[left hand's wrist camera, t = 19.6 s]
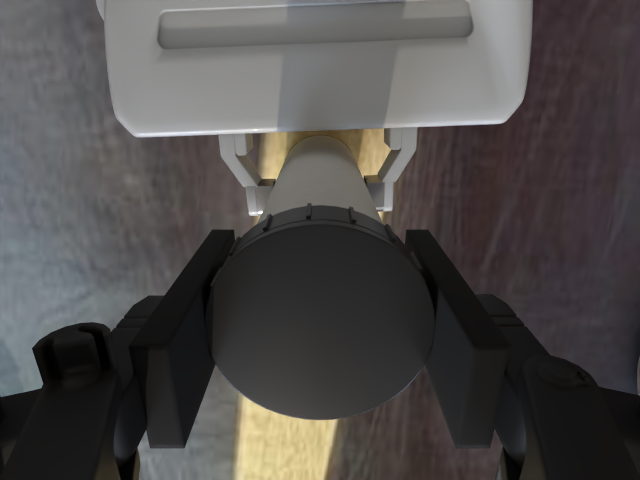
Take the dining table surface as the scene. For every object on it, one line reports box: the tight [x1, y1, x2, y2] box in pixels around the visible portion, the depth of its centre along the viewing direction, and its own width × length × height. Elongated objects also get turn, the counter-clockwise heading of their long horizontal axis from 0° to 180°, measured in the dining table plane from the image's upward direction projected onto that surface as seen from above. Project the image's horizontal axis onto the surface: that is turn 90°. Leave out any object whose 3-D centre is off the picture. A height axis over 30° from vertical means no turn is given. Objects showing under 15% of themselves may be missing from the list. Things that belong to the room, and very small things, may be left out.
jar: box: [257, 135, 383, 224], centre depth 20 cm, size 5×5×19 cm
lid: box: [205, 203, 435, 420], centre depth 11 cm, size 6×6×2 cm
